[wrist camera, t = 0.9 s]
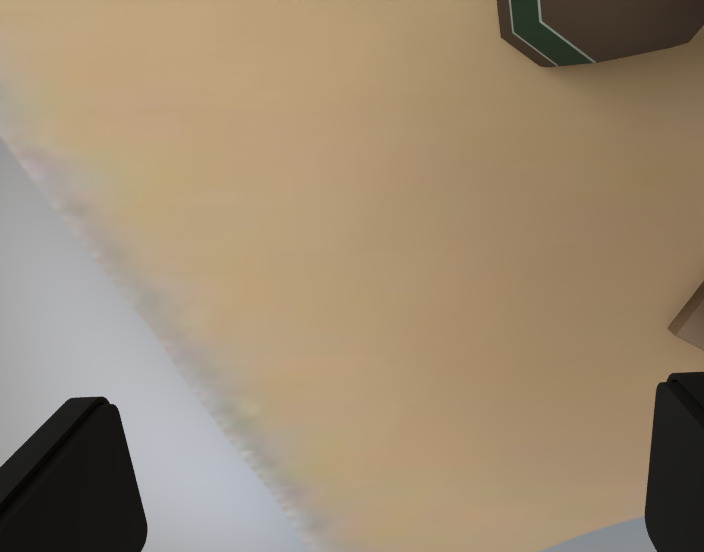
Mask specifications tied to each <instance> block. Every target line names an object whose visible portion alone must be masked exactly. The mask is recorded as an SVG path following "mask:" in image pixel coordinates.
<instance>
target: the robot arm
mask: <svg viewBox="0 0 704 552" xmlns="http://www.w3.org/2000/svg"><path fill="white" fill-rule="evenodd" d="M645 522H646V528H647V531H648V535H649V537H650V539H651V541H652V543H653V545H654V547H655V549H656V550H657V552H704V372H688V373H672V374H671V375H669V377H668V379H667V382H661V383H659V384H658V386H657V389H656V398H655V409H654V419H653V430H652V441H651V452H650V463H649V474H648V484H647V495H646V506H645ZM146 537H147V521H146V517H145V513H144V509H143V505H142V502H141V497H140V494H139V490H138V485H137V482H136V477H135V473H134V469H133V465H132V462H131V457H130V453H129V449H128V446H127V442H126V438H125V434H124V430H123V426H122V422H121V418H120V414H119V411H118V408H117V407H116V406H115V405H114V404H110V403H109V401H108V400H107V399H106V398H104V397H80V398H70V399H69V400H67V401H66V402H65V403H64V404H63V405H62V406H61V407H60V408H59V409H58V410H57V411H56V412H55V413H54V414H53V415H52V416H51V417H50V418H49V419H48V420H47V421H46V422H45V423H44V424H43V425H42V426H41V427H40V428H39V429H38V430H37V431H36V432H35V433H34V434H33V435H32V436H31V437H30V438H29V439H28V440H27V441H26V442H25V443H24V444H23V445H22V446H21V447H20V448H19V449H18V450H17V451H16V452H15V453H14V454H13V455H12V456H11V457H10V458H9V459H8V460H7V461H6V462H5V463H4V464H3V465H2V466H1V467H0V552H141V551H142V549H143V547H144V544H145V542H146Z"/></svg>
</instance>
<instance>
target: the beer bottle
mask: <svg viewBox="0 0 704 552" xmlns="http://www.w3.org/2000/svg"><path fill="white" fill-rule="evenodd" d="M497 7H498V16H499V25H500V33H501V38H503V39H504V40H506V41H507V42H508V43H510V44H511V45H512V46H514V47H515V48H516V49H518V50H519V51H520V52H522V53H523V54H524V55H526V56H527V57H528V58H530V59H531V60H532V61H534V62H535V63H536V64H538V65H539V66H543V67H552V66H564V65H575V64H587V63H598V62H602V61H607V60H612V59H617V58H622V57H627V56H632V55H637V54H642V53H647V52H652V51H656V50H661V49H666V48H671V47H674V46H677V45H681V44H684V43H688V42H689V41H690V40H691V39H692V38H693V36H694V35H695V34H696V33H697V32H698V31H699V30H700V28H701V27H702V26H703V25H704V0H497Z"/></svg>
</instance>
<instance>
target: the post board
mask: <svg viewBox="0 0 704 552" xmlns="http://www.w3.org/2000/svg"><path fill="white" fill-rule="evenodd" d="M668 329H669V330H670V331H671V332H672V333H673V334H674V335H675V336H677V337H679V338H681V339H683V340H685V341H687V342H689V343H690V344H692V345H694V346H696V347H698V348H700V349H702V350H704V282H703V283H702V284H701V286H700V287H699V288H698V290H697V291H696V292H695V293H694V295H693V296H692V297H691V299H690V300H689V301H688V303H687V304H686V305H685V306H684V308H683V309H682V310H681V312H680V313H679V314H678V315H677V317H676V318H675V319H674V321H673V322H672V323H671V325H670V326H669V327H668Z"/></svg>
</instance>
